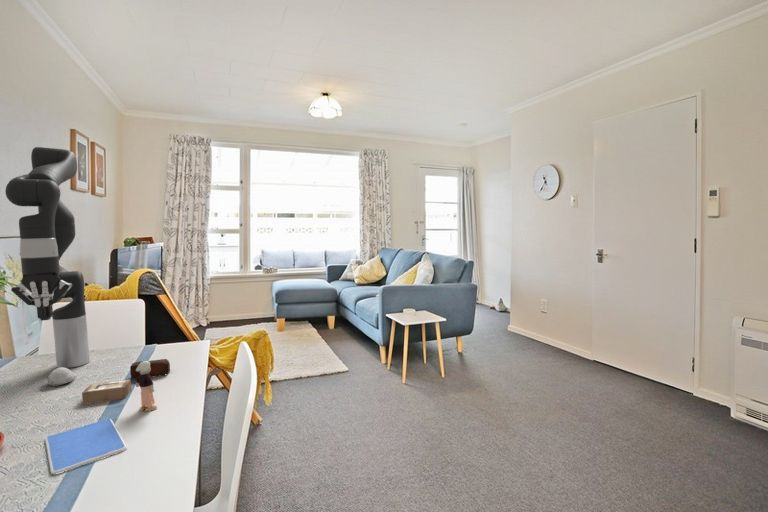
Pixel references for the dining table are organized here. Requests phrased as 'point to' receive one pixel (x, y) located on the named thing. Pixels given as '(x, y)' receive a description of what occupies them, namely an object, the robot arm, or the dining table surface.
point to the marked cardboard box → (106, 391)
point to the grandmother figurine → (145, 386)
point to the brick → (152, 368)
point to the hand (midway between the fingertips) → (45, 319)
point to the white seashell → (60, 376)
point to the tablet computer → (83, 445)
